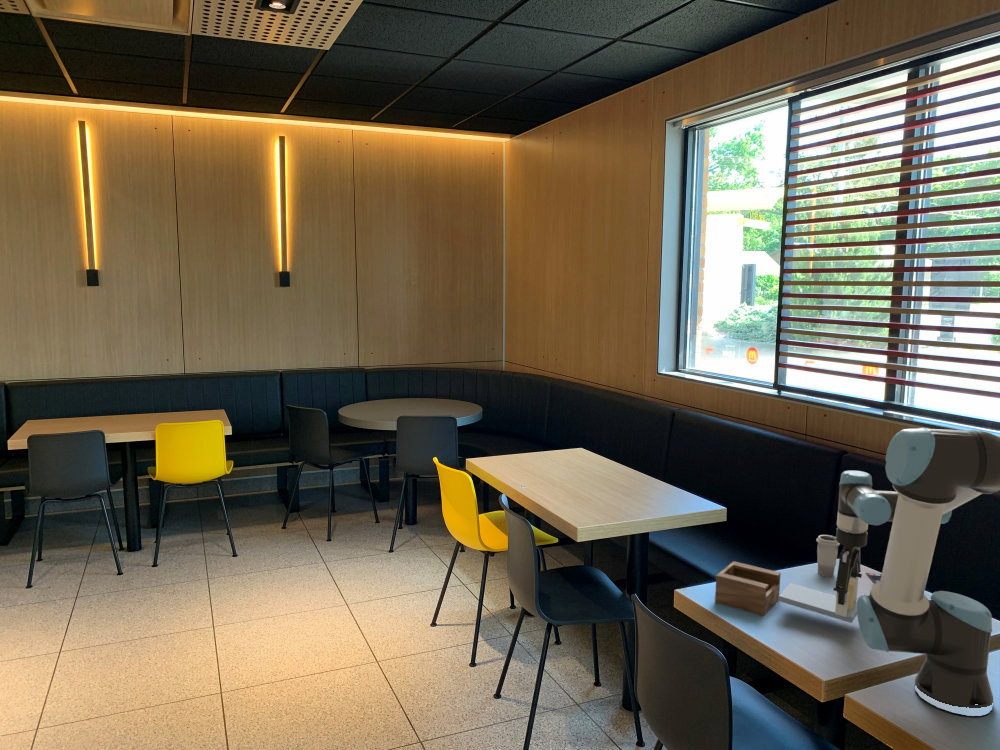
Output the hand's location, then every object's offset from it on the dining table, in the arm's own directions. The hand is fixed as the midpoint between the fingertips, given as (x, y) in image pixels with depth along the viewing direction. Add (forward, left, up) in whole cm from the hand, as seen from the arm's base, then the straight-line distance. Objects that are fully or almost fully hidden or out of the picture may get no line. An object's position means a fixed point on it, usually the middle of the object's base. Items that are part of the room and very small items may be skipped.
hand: (846, 607), depth 201 cm
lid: (0, +7, -1) cm, 7 cm away
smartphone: (+40, -4, -6) cm, 41 cm away
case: (0, +26, -6) cm, 27 cm away
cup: (+36, +13, -6) cm, 39 cm away
